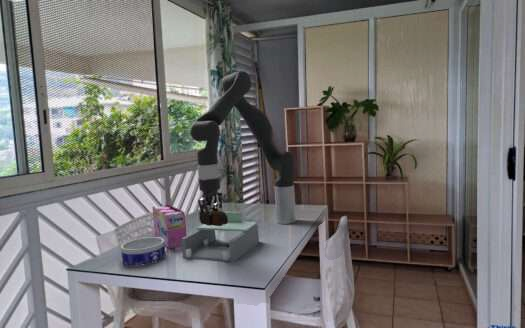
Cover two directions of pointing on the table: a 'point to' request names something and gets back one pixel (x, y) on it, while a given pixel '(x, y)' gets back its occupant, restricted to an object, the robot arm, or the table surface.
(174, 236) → the gum box
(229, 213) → the cover
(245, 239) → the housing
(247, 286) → the table surface
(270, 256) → the table surface
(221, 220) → the brick
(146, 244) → the dog bowl
